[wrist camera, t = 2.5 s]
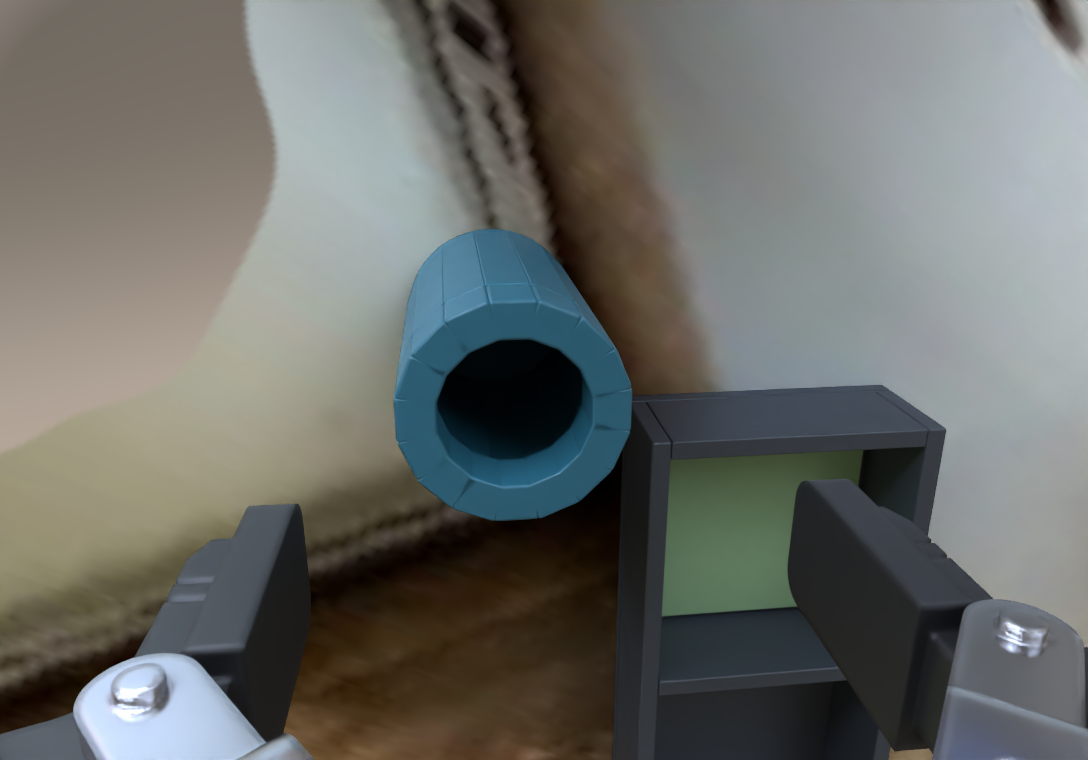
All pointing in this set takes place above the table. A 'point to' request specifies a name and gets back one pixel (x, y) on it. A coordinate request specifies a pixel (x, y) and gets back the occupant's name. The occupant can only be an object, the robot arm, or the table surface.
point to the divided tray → (746, 568)
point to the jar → (506, 381)
